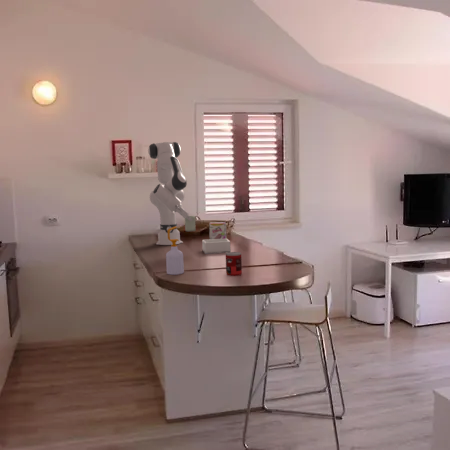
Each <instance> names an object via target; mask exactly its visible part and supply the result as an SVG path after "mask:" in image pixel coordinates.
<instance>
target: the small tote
mask: <svg viewBox="0 0 450 450" xmlns="http://www.w3.org/2000/svg"><path fill="white" fill-rule="evenodd" d="M189 217H190V218H191V219H192V221H189V220H188V219H187V218H184V230H185V232H189V233H190V232H196V231H197V230H196V229H197V228H196V227H197V226H196V216H195V215H191V216H190V215H189Z"/></svg>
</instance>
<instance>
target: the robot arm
mask: <svg viewBox="0 0 450 450" xmlns="http://www.w3.org/2000/svg"><path fill="white" fill-rule="evenodd" d="M147 149H148V150H147V151H148V156H149V157H150V158H151V159H153V160H156V161H157V162H156V171H157V180H158V182H159V184H157V185H156V186H155V188H154V189H153V190H152V191H151V192H150V194H149V201H150V203H151V204H152V205H153V206H155V207H156V209H157V210H158V213H159V217H160V218H159V219H160V224H159V225H160V226H159V228H160V231H158V234H157V240H158V241H156V245H161V246H171V245H173V243H172V242H171V241H170V240H168V232H167V231H168V229H169V228H172V227H175V226H176V227H177V228H175V229H173V230H171V231H170V239H178V240H179V241H177V242H176V245H179V244H183V243H184V242H183V241H182V240H181V235H180V233H181V232H180V231H179V230H178V223H177V214H176V213H178V214H179V215H180V216H182V218H184V219H185V218H187V219H188V220H189V221H192V219H191V218H190V217H189V216H190V215H189V213H188V212H187V210H186V209H184V207H183V204H182V202H183V201H184V200H185V198H186V197H185V192H184V189H185V188H186V187H187V184H188V183H187V182H188V181H187V179H186V177H185V175H184V173H183V169H182V167H181V163H180V161H179V159H178V157H180V155H181V151H182V150H181V146H180V144H179V142H176V141H170V142H169V141H164V142H157V143H151V144H150V145H149V147H148V148H147ZM160 183H161V184H160Z"/></svg>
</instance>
